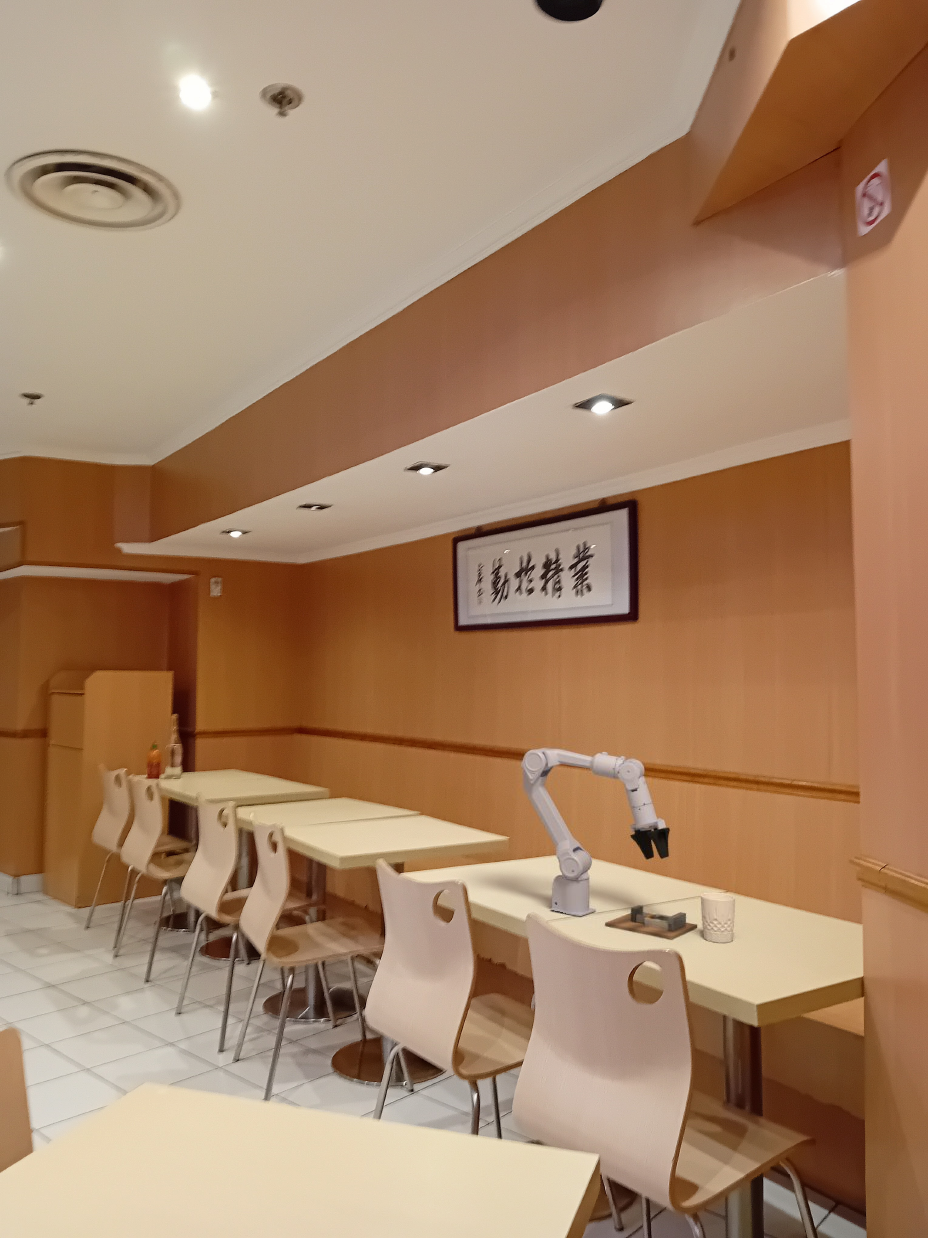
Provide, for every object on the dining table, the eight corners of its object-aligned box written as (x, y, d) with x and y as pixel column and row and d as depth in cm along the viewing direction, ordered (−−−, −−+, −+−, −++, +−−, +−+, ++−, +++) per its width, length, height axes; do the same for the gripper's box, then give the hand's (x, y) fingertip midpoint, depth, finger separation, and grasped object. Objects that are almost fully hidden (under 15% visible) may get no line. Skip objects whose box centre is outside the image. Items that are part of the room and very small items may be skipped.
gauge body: (644, 926, 221) (644, 913, 222) (657, 921, 227) (657, 908, 227) (673, 932, 217) (673, 918, 217) (686, 926, 222) (686, 913, 222)
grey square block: (627, 922, 224) (627, 909, 224) (638, 918, 229) (638, 905, 229) (649, 927, 220) (649, 914, 220) (661, 922, 225) (661, 909, 225)
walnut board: (605, 926, 224) (605, 922, 224) (632, 915, 235) (632, 912, 235) (671, 940, 213) (671, 936, 213) (697, 928, 224) (697, 924, 224)
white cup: (736, 945, 209) (736, 901, 210) (701, 942, 211) (701, 899, 212) (733, 936, 217) (733, 893, 218) (700, 933, 219) (699, 891, 219)
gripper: (668, 799, 228) (685, 853, 225) (641, 804, 241) (656, 854, 238) (645, 806, 225) (661, 860, 222) (618, 810, 238) (633, 862, 236)
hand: (657, 858), depth 230 cm, fingers open, 7 cm apart
